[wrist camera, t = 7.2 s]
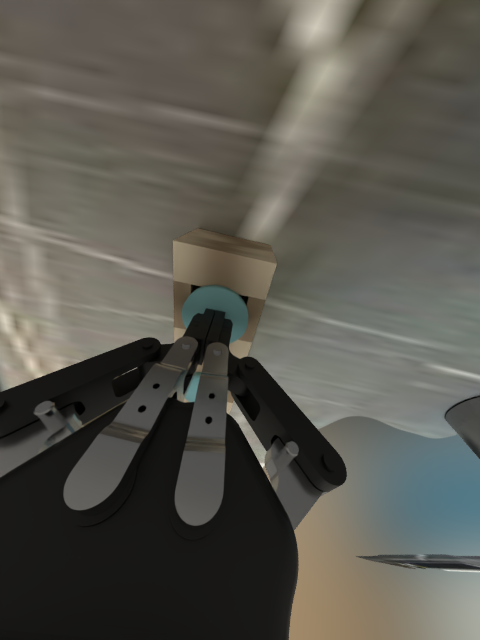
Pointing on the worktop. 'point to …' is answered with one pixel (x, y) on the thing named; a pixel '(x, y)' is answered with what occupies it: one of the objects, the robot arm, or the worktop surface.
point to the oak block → (222, 278)
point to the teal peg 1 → (218, 307)
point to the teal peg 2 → (193, 388)
